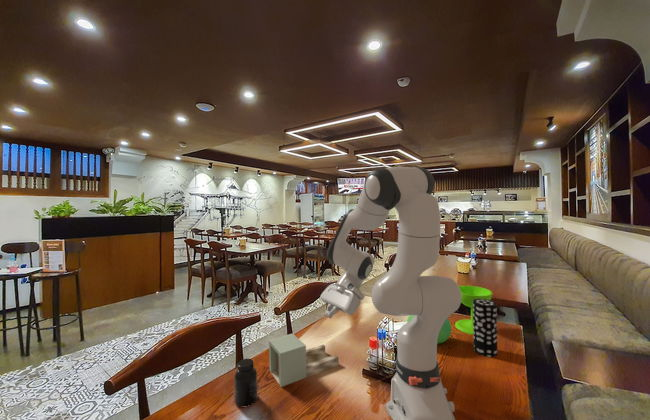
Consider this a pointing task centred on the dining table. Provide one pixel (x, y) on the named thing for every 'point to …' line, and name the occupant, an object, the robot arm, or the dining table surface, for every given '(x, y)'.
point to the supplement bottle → (245, 383)
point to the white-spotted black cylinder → (485, 327)
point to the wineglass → (471, 304)
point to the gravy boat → (444, 331)
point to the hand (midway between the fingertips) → (327, 316)
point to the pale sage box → (288, 358)
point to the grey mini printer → (316, 361)
